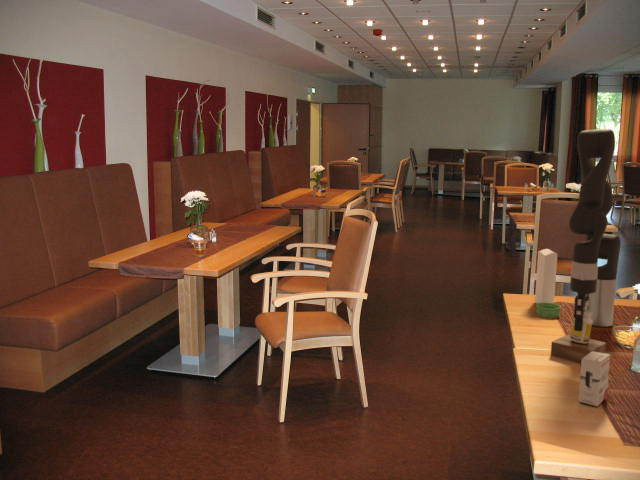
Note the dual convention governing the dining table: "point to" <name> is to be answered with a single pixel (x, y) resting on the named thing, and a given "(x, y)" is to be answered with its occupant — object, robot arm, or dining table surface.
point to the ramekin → (548, 310)
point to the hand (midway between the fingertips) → (579, 327)
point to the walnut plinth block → (575, 348)
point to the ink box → (594, 378)
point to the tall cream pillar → (546, 276)
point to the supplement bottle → (583, 329)
